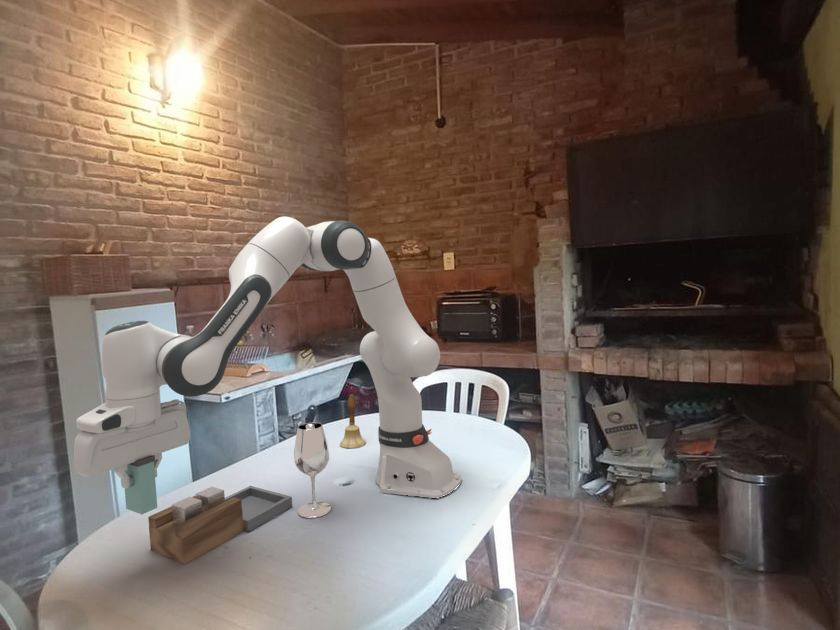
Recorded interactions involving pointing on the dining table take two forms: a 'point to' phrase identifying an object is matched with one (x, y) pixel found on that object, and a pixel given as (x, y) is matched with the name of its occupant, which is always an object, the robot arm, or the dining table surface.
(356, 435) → the hand bell
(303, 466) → the wineglass
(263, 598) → the dining table surface
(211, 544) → the groove board
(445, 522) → the dining table surface
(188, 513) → the steel block
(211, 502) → the steel block
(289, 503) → the tray
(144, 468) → the green grey block
